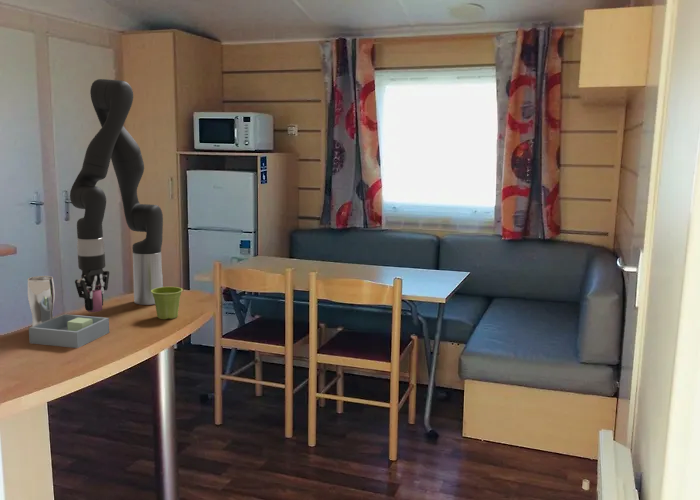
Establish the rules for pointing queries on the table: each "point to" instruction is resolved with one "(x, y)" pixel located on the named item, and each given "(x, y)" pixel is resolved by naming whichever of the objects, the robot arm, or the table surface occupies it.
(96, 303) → the plum cylinder
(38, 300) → the beer glass
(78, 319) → the sage block
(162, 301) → the plant pot
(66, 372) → the table surface
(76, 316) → the tub
